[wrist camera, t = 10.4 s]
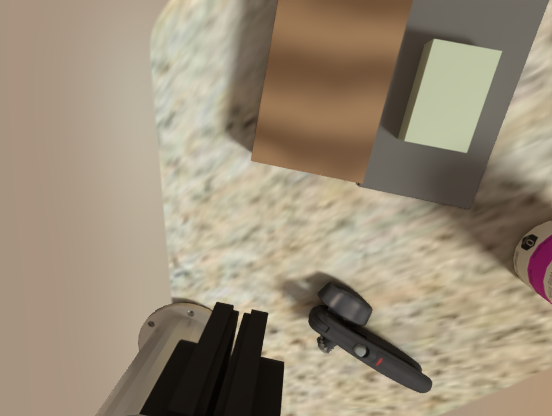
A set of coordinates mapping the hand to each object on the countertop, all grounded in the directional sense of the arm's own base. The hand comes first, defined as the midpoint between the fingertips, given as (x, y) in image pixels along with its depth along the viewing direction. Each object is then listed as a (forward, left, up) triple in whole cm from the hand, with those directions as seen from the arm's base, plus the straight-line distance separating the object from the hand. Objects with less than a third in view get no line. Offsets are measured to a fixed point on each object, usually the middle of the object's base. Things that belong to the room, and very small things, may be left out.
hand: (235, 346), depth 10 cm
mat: (+11, -14, -27) cm, 32 cm away
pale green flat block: (+11, -14, -26) cm, 31 cm away
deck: (+11, -2, -27) cm, 29 cm away
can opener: (-17, -14, -28) cm, 35 cm away
